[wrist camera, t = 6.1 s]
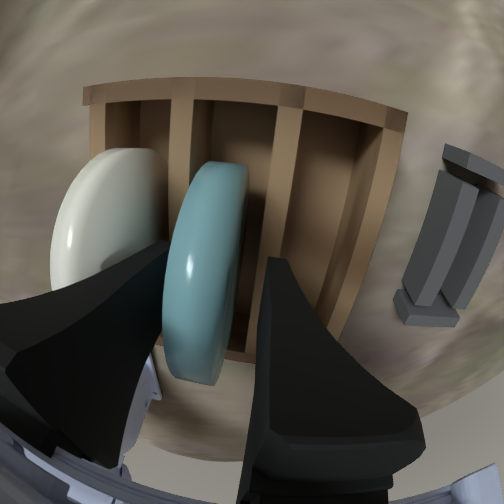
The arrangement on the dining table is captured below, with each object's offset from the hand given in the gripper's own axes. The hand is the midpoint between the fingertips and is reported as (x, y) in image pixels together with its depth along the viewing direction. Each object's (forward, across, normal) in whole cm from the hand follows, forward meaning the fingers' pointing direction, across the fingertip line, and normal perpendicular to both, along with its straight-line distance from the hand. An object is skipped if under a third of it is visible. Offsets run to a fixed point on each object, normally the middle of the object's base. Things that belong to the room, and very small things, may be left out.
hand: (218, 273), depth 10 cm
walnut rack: (+5, 0, 0) cm, 5 cm away
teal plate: (+4, 0, -1) cm, 4 cm away
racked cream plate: (+5, +4, 0) cm, 7 cm away
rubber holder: (+5, -12, -1) cm, 13 cm away
